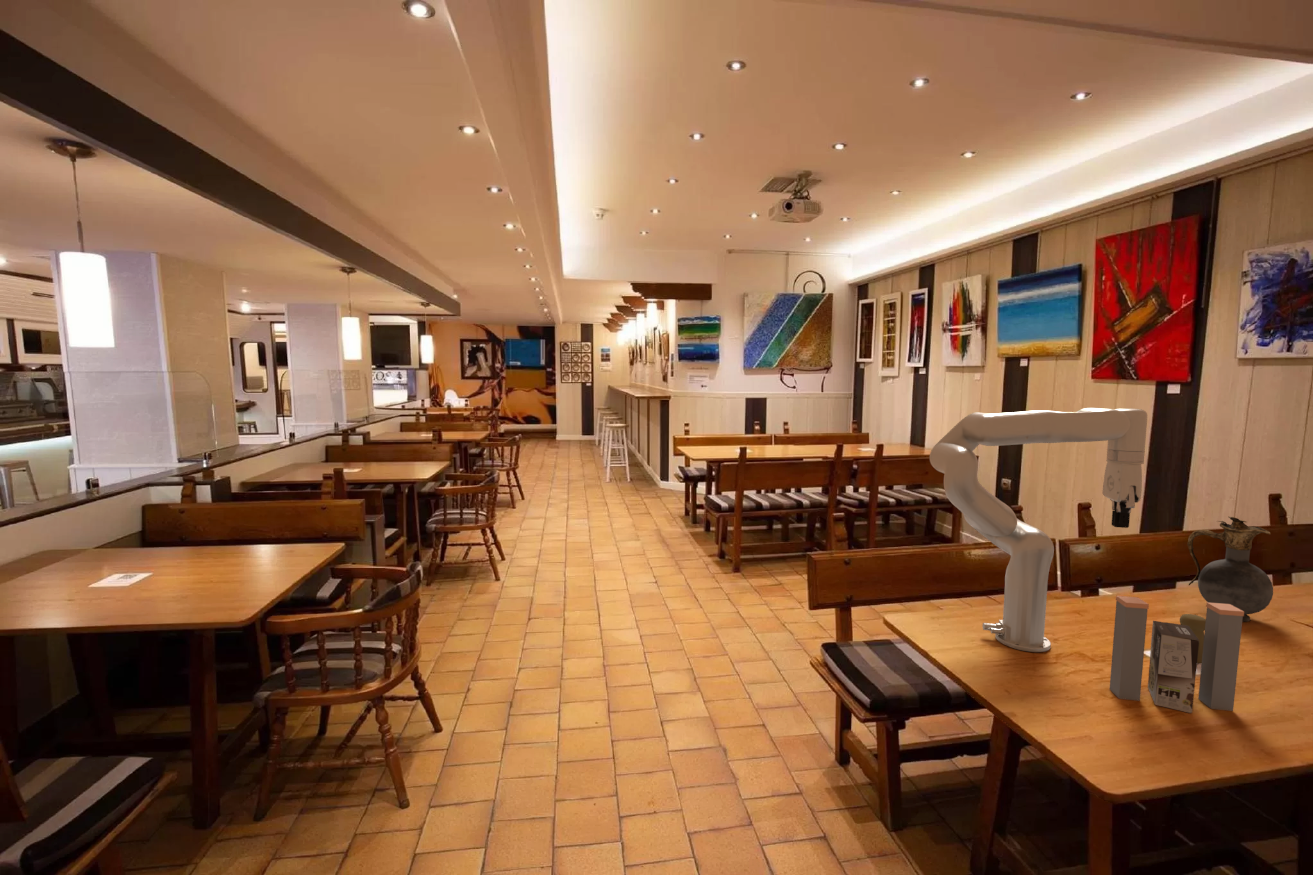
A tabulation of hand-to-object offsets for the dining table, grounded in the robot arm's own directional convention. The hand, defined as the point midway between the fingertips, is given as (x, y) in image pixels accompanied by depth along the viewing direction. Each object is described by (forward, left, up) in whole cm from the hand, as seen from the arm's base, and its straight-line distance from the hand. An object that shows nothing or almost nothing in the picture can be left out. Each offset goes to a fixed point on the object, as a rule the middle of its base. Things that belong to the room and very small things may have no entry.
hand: (1120, 526), depth 151 cm
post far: (+7, -27, -32) cm, 43 cm away
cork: (+16, -3, -32) cm, 36 cm away
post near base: (-10, -27, -32) cm, 43 cm away
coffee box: (-1, -27, -32) cm, 42 cm away
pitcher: (+43, +31, -32) cm, 62 cm away
